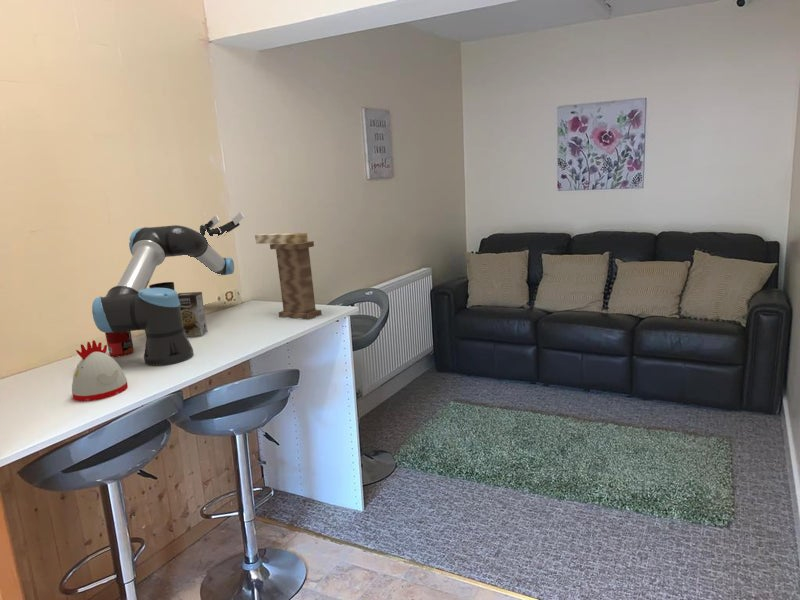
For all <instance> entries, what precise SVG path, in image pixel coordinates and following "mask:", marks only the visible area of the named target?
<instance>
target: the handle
mask: <svg viewBox="0 0 800 600" xmlns="http://www.w3.org/2000/svg"><path fill="white" fill-rule="evenodd" d="M254 238H255V244H258V245H259V244H266V245H267V244H269V245H270V244H276V243H286V244H299V243H304V242H308V241H309V239H308V232H295V233H259V234H255V235H254Z"/></svg>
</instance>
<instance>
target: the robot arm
mask: <svg viewBox="0 0 800 600" xmlns="http://www.w3.org/2000/svg"><path fill="white" fill-rule="evenodd" d="M244 218H245V216H244V213H243V212H242V211H239V212H238V213H237V214H236V215H235V216H234V217H233V218H232V219H231V221H229V222H227V223H225V224H223V225H221V226H220V225H219V226H220V227H219V226H218V227H219V229H218V228H217V227H215V226H216V225H217V224H218V223H219V222H220V218H219V216H218V214H215V215H214V216H213V217H212V218H211V219H210V220H209V221H208V222H207V223H205V224H201V225H200V226H199V230H200V233H201V234H200V233H199V231H197V230H194V229H193V228H190V227H187V226H184V225H176V224H174V225H173V224H172V225H166V226H165V225H161V226H153V227H152V226H151V227H149V226H148V227H146V226H144V227H141V228H136V229H135V230H133V231H132V232H131V233H130V236H129V243H128V247H129V251H130V254H131V255H132V257H131V259H130V260H129V262H128V265H127V266H126V269H125V270H124V272H123V274H122V276H121V278H120V280H119V281H118V283H117V285H115V286H112V287H111V288H110V289H109V290H108V291H107V293H106V295H105V296H98V297H95V298H94V299H93V302H92V306H91V314H92V318H93V322H94V325H95V326H96V327H97V329H98V330H99V331H100V332H102V333H104V334H105V333H109V332H112V333H115V332H125V331H131V332H135V331H144V332H145V338H146V341H145V347H144V353H143V361H144V364H145V365H146V366H152V367H153V366H155V367H156V366H166V365H167V366H168V365H172V364H176V363H177V364H178V363H180V362H184V361H187V360H189V359H191V358H192V357H194V349H193V346H192V344H191V343H190V341H189V338H188V337H186V335H185V333H184V328H183V321H182V314H181V308H180V302H179V298H178V294H179V293H178V292H177V291H176V290H175V289H174V290H175V291H174V290H172V289H168V288H149V287H148V285H149V283H150V281H151V278H152V276H153V274H154V272H155V270H156V268H157V266H160V265H161V264H163V262H164V261H165V259H166V258H169V257H179V256H181V257H182V255H188V256H190V257H194V258H196V259H197V260H199V261H200V262H201V263H203V264H204V265H205V266H206V267H208V268H209V269H210V270H211V271H213V272H215V273H217V274H221V275H220V276H228V275H232V274H234V271H235V263H234V260H233V258H232V257H223V256H222V255H221V254H219V253H218V252H217V250H215V249H214V248H213V246H212V247H211V246H210V245H209V244H208V242H207V240H206V238H205V237H204V235H205V231H206V230H207V232H208V233H209V235H210V236H213V234H218V236H219V235H220V236H222V234H223V233H224V232H225V231H227V232H228V233H230V232H232V231H233V230H234V229H236V228H238V227H239V226H240V225H241V224H240V222H241V220H243V219H244ZM214 228H215V229H214ZM220 231H221V233H220ZM227 232H226V233H227ZM228 233H227V234H228ZM220 236H219V237H220ZM147 287H148V288H147Z"/></svg>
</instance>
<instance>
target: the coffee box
mask: <svg viewBox="0 0 800 600" xmlns="http://www.w3.org/2000/svg"><path fill="white" fill-rule="evenodd" d="M177 294H178V298H179V302H180V308H181V314H182V321H183V328H184V333H185V335H186V337H187V338H195V337H196V338H197V337H198V336H201V337H203V336H204V335H206V334H207V333H208V328H207V327H208V325H207V320H206V313H205V307H204V306H205V305H204V299H203V298H204V297H203V292H202V291H195V292H194V291H193V292H179V293H177ZM206 332H207V333H206ZM205 333H206V334H205ZM202 335H203V336H202Z"/></svg>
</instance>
